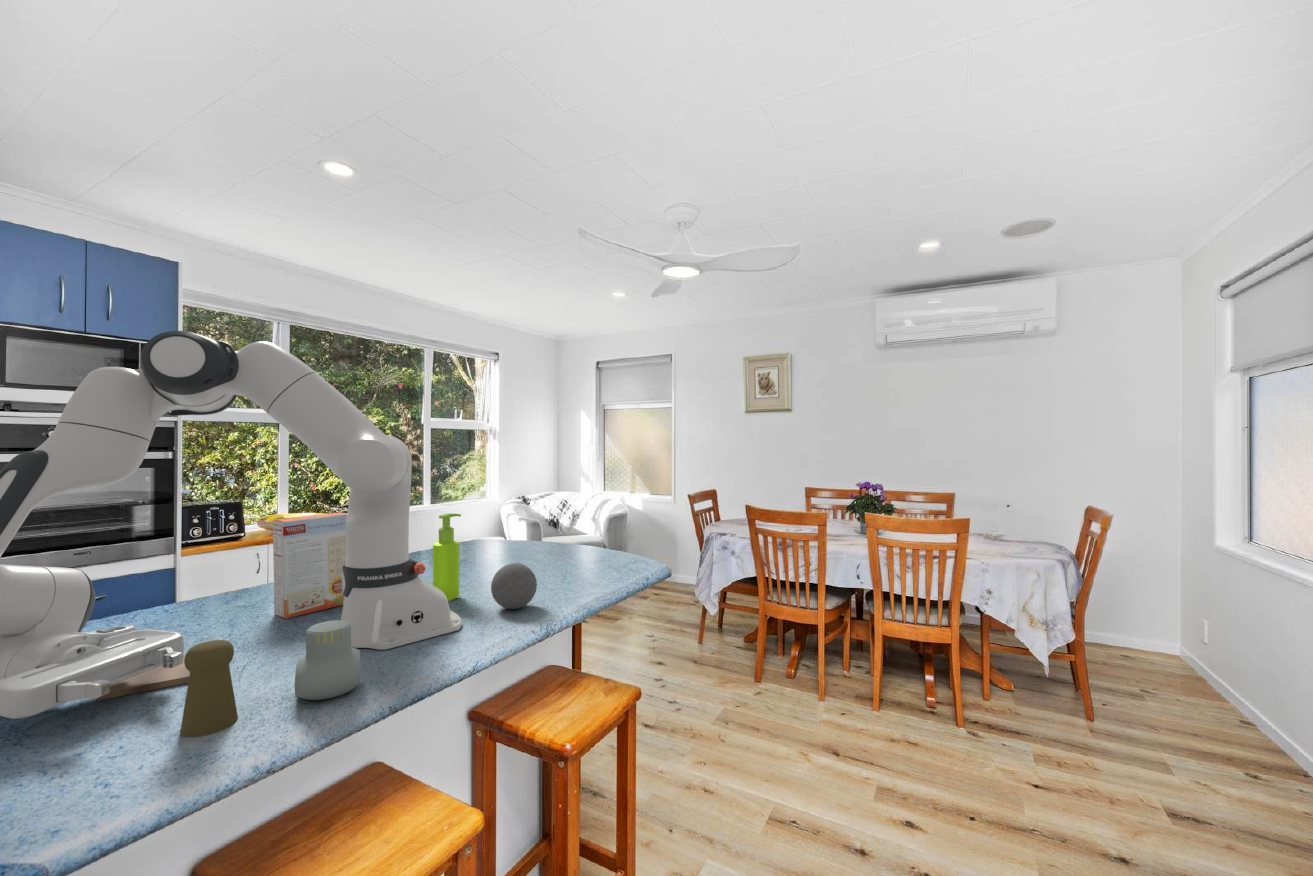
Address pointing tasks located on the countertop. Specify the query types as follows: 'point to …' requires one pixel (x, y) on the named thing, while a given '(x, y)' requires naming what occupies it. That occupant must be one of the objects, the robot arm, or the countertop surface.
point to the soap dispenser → (446, 560)
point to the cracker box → (308, 563)
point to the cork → (209, 689)
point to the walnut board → (149, 681)
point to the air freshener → (327, 662)
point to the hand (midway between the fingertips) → (143, 674)
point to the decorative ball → (514, 586)
